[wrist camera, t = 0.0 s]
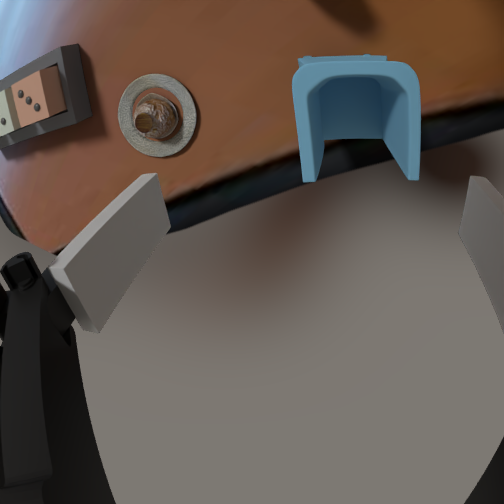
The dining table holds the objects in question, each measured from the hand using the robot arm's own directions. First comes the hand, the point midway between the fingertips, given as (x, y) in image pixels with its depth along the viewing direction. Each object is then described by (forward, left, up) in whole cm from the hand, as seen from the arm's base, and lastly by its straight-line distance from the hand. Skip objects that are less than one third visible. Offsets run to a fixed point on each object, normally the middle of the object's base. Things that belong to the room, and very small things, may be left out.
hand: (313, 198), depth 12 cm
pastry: (+1, -21, -29) cm, 36 cm away
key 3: (-7, -37, -24) cm, 45 cm away
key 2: (-7, -46, -25) cm, 53 cm away
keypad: (-7, -46, -28) cm, 55 cm away
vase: (-1, +3, -28) cm, 28 cm away
